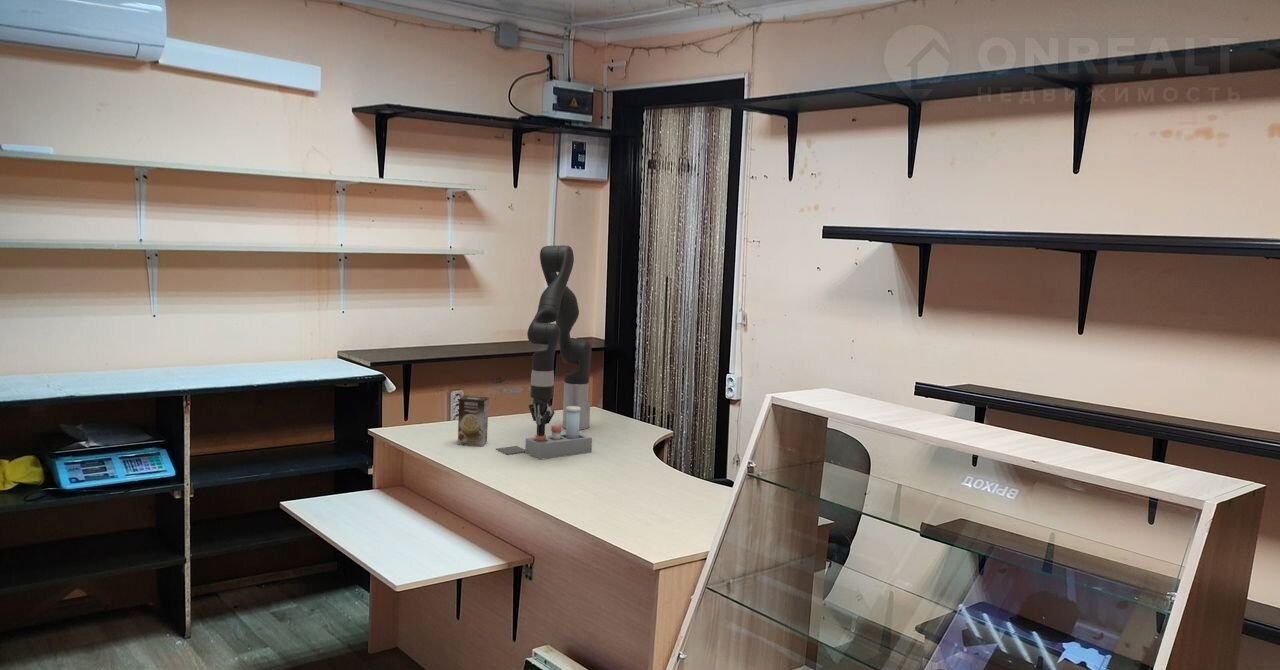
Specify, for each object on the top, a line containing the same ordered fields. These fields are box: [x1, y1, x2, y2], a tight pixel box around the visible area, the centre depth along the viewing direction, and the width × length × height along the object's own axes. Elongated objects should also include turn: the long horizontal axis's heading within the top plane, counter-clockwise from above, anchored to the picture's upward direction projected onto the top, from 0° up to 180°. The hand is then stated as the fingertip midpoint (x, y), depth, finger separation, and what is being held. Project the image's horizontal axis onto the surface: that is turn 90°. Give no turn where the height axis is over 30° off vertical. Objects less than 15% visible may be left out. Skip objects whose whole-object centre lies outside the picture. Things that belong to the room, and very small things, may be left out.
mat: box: [495, 445, 526, 456], centre depth 310 cm, size 8×8×1 cm
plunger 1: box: [534, 434, 547, 442], centre depth 305 cm, size 3×3×6 cm
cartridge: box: [565, 406, 581, 439], centre depth 313 cm, size 5×5×15 cm
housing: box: [524, 432, 593, 460], centre depth 310 cm, size 20×9×5 cm, turn 127°
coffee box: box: [457, 395, 489, 447], centre depth 316 cm, size 9×6×16 cm
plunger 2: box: [550, 425, 562, 440], centre depth 309 cm, size 3×3×6 cm
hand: (540, 435), depth 305 cm, fingers closed
